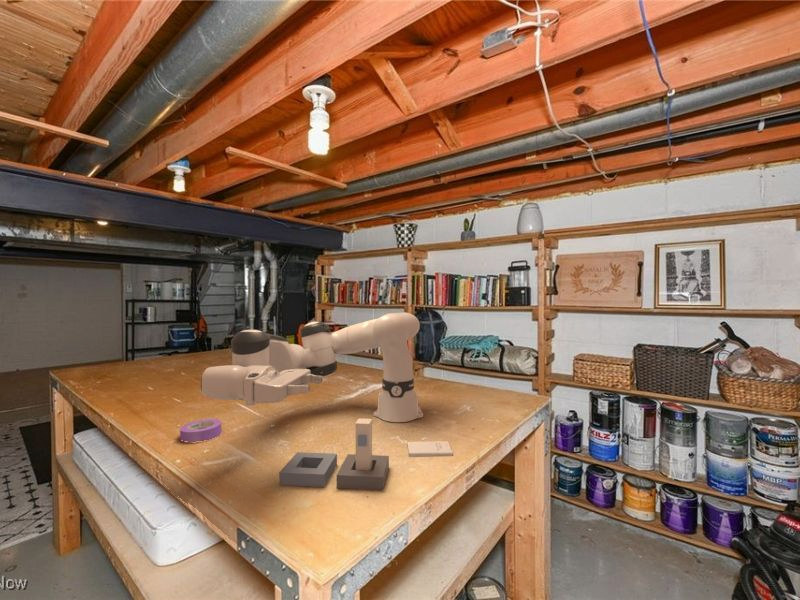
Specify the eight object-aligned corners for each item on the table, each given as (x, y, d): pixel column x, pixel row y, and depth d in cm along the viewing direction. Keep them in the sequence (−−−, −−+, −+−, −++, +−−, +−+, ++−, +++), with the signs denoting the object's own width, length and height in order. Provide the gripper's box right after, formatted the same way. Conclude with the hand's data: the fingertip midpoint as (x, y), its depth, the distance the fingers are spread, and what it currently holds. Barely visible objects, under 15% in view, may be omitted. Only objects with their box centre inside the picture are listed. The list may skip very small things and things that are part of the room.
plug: (358, 473, 89) (358, 418, 89) (372, 473, 89) (372, 418, 89) (355, 482, 85) (354, 424, 85) (369, 482, 85) (368, 425, 84)
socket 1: (297, 463, 95) (297, 452, 95) (336, 464, 94) (336, 453, 94) (279, 484, 84) (279, 472, 84) (324, 487, 83) (324, 474, 83)
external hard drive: (407, 446, 107) (447, 445, 107) (408, 458, 98) (452, 457, 99) (407, 441, 107) (447, 440, 107) (408, 452, 98) (452, 452, 99)
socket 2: (347, 465, 93) (347, 454, 93) (388, 467, 92) (388, 455, 92) (336, 487, 82) (336, 475, 82) (382, 490, 81) (382, 477, 81)
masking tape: (177, 446, 106) (176, 434, 106) (183, 433, 117) (183, 421, 117) (220, 440, 111) (220, 428, 111) (222, 427, 121) (222, 416, 121)
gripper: (281, 385, 100) (328, 386, 99) (241, 407, 80) (300, 409, 78) (281, 363, 100) (328, 363, 98) (241, 379, 80) (300, 381, 78)
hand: (315, 384), depth 88 cm, fingers open, 8 cm apart
